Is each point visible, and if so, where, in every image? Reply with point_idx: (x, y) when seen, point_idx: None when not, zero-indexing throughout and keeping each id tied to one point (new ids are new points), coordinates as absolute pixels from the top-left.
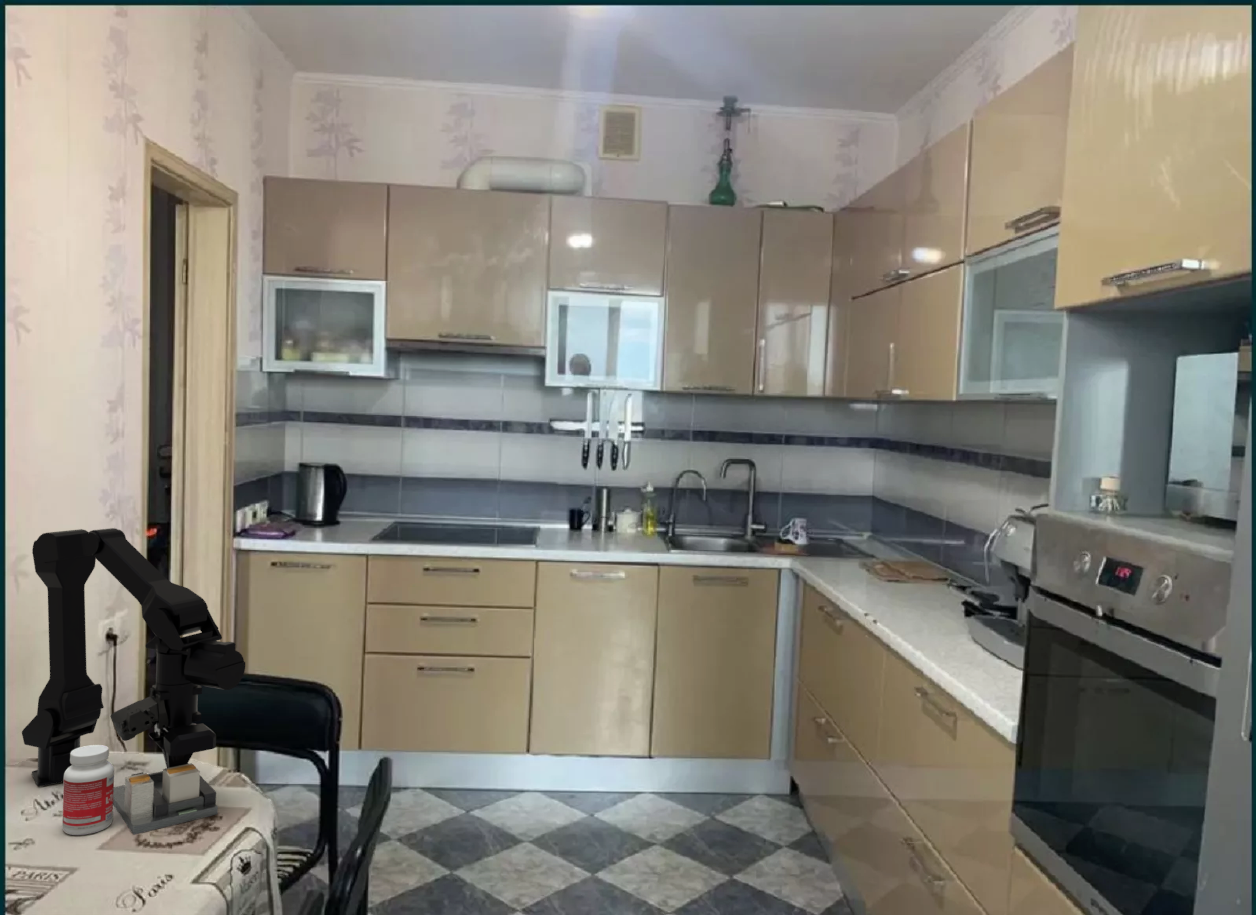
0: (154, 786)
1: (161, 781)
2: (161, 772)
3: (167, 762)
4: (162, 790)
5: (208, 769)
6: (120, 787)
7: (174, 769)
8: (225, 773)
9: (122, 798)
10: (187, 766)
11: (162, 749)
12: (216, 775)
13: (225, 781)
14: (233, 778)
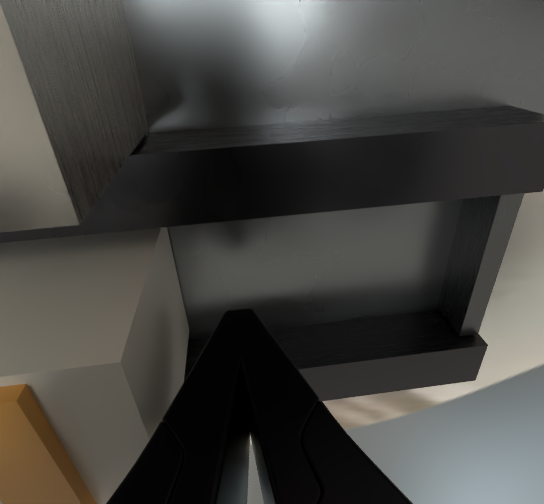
0: (412, 212)
1: (448, 247)
2: (481, 271)
3: (215, 411)
4: (151, 250)
5: (482, 377)
6: (539, 41)
7: (2, 441)
8: (408, 410)
9: (354, 16)
10: (53, 501)
11: (361, 487)
12: (412, 390)
13: (341, 405)
14: (350, 423)
